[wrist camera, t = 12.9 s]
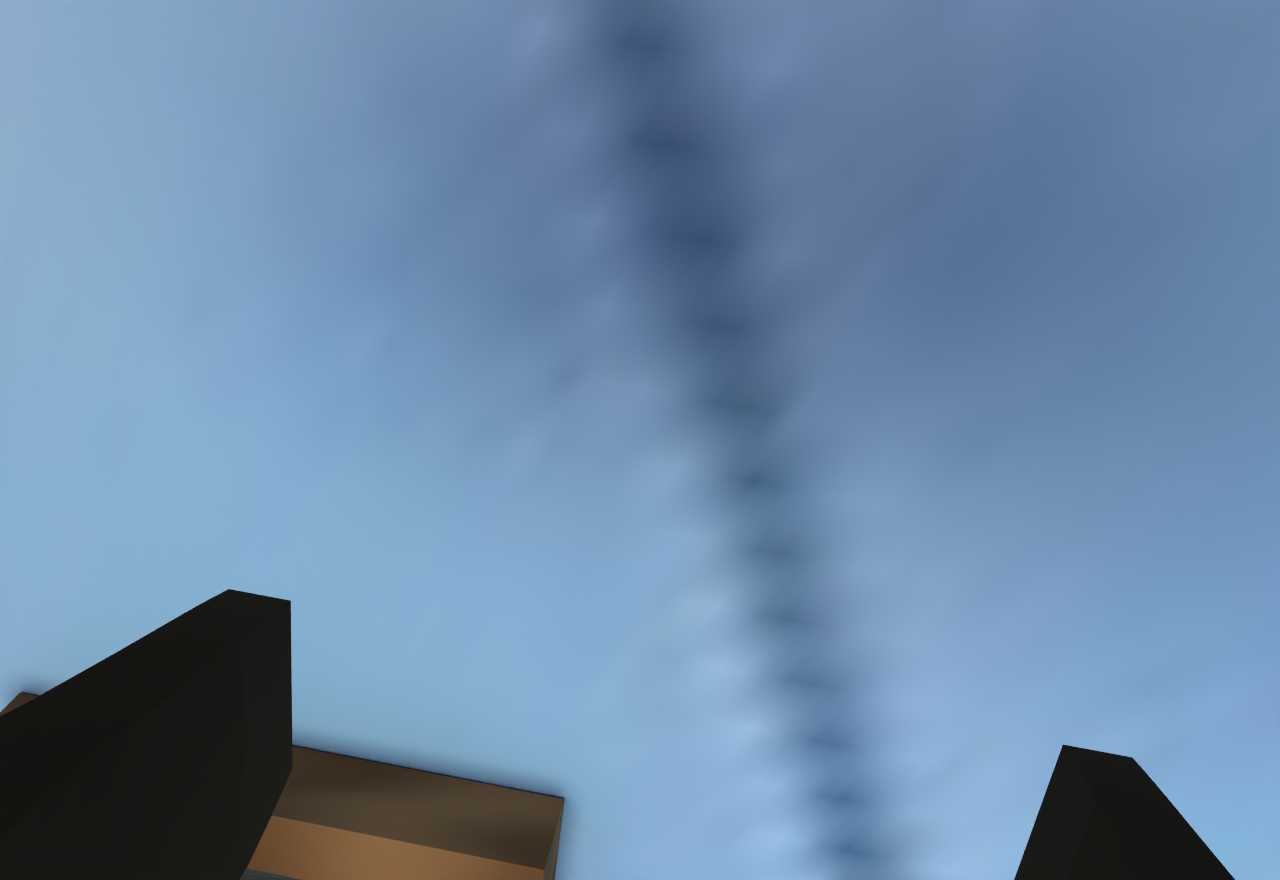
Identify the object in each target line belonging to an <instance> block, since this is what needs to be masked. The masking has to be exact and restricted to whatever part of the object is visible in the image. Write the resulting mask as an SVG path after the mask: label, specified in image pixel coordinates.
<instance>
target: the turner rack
mask: <svg viewBox="0 0 1280 880" xmlns="http://www.w3.org/2000/svg"><path fill="white" fill-rule="evenodd" d="M36 697H38V696H35V695H29V694H24V693H19V694H18V695H17V696H16V697H15V698H14V699H13V700H12V701H11V702H10V703H9V704H8V705H7V706H6V707H5V708H4V709H3V710H2V711H1V712H0V716H2V715H4V714H6V713H7V712H9V711H11V710H13V709H15V708H17V707H19V706H21V705H23V704H25V703H27V702H29V701H31V700H33V699H35V698H36ZM563 805H564V799H561V798H556V797H551V796H546V795H541V794H536V793H531V792H525V791H520V790H515V789H510V788H505V787H500V786H495V785H490V784H485V783H479V782H474V781H469V780H464V779H459V778H454V777H449V776H444V775H438V774H433V773H428V772H423V771H418V770H413V769H408V768H403V767H398V766H392V765H387V764H382V763H377V762H372V761H367V760H362V759H357V758H352V757H346V756H341V755H336V754H331V753H326V752H321V751H316V750H311V749H306V748H300V747H295V746H292V771H291V773H290V775H289V778H288V780H287V782H286V784H285V787H284V789H283V791H282V793H281V796H280V798H279V800H278V802H277V805H276V807H275V809H274V811H273V814H272V816H271V818H270V820H269V823H268V825H267V827H266V829H265V831H264V833H263V835H262V837H261V839H260V842H259V844H258V846H257V848H256V850H255V852H254V854H253V856H252V858H251V861H250V863H249V865H248V866H247V869H252V870H257V871H262V872H267V873H272V874H277V875H281V876H286V877H291V878H296V879H301V880H554V877H555V869H556V861H557V853H558V845H559V837H560V829H561V821H562V813H563Z"/></svg>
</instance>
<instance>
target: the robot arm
mask: <svg viewBox="0 0 1280 880" xmlns="http://www.w3.org/2000/svg"><path fill="white" fill-rule="evenodd" d="M291 771H292V686H291V601H289V600H284V599H279V598H273V597H268V596H263V595H257V594H252V593H246V592H241V591H236V590H230V589H228V590H226V591H225V592H223V593H221V594H219V595H217V596H215V597H213V598H211V599H209V600H207V601H206V602H204V603H202V604H200V605H198V606H196V607H195V608H193V609H191V610H189V611H188V612H186V613H184V614H182V615H181V616H179V617H177V618H175V619H174V620H172V621H170V622H168V623H167V624H165V625H163V626H162V627H160V628H158V629H156V630H155V631H153V632H151V633H149V634H148V635H146V636H144V637H143V638H141V639H139V640H137V641H136V642H134V643H132V644H130V645H129V646H127V647H125V648H124V649H122V650H120V651H118V652H117V653H115V654H113V655H111V656H109V657H108V658H106V659H104V660H102V661H101V662H99V663H97V664H95V665H93V666H92V667H90V668H88V669H86V670H85V671H83V672H81V673H79V674H77V675H76V676H74V677H72V678H70V679H69V680H67V681H65V682H63V683H61V684H60V685H58V686H56V687H54V688H53V689H51V690H49V691H47V692H45V693H44V694H42V695H40V696H38V697H36V698H35V699H33V700H31V701H29V702H27V703H25V704H23V705H21V706H19V707H17V708H15V709H13V710H11V711H9V712H7V713H6V714H4V715H2V716H0V880H240V878H241V876H242V875H243V873H244V871H245V870H246V868H247V866H248V865H249V863H250V861H251V858H252V856H253V854H254V852H255V850H256V848H257V846H258V844H259V842H260V839H261V837H262V835H263V833H264V831H265V829H266V827H267V825H268V823H269V820H270V818H271V816H272V814H273V811H274V809H275V807H276V805H277V802H278V800H279V798H280V796H281V793H282V791H283V789H284V787H285V784H286V782H287V780H288V778H289V775H290V773H291ZM1014 880H1235V879H1234V878H1233V877H1232V875H1231V874H1230V873H1229V872H1228V871H1227V869H1226V868H1225V867H1224V866H1223V865H1222V863H1221V862H1220V861H1219V860H1218V859H1217V857H1216V856H1215V855H1214V854H1213V853H1212V851H1211V850H1210V849H1209V848H1208V847H1207V845H1206V844H1205V843H1204V842H1203V841H1202V839H1201V838H1200V837H1199V836H1198V835H1197V833H1196V832H1195V831H1194V830H1193V829H1192V827H1191V826H1190V825H1189V824H1188V822H1187V821H1186V820H1185V819H1184V818H1183V816H1182V815H1181V814H1180V813H1179V812H1178V810H1177V809H1176V808H1175V807H1174V806H1173V804H1172V803H1171V802H1170V801H1169V800H1168V798H1167V797H1166V796H1165V795H1164V794H1163V792H1162V791H1161V790H1160V789H1159V788H1158V786H1157V785H1156V784H1155V783H1154V782H1153V781H1152V779H1151V778H1150V777H1149V776H1148V775H1147V774H1146V772H1145V771H1144V770H1143V769H1142V768H1141V767H1140V766H1139V765H1138V763H1137V762H1136V761H1135V760H1134V759H1133V758H1132V757H1127V756H1121V755H1116V754H1110V753H1105V752H1100V751H1094V750H1089V749H1084V748H1078V747H1073V746H1068V745H1063V746H1062V749H1061V752H1060V754H1059V757H1058V760H1057V763H1056V766H1055V768H1054V771H1053V774H1052V777H1051V779H1050V782H1049V785H1048V788H1047V790H1046V793H1045V796H1044V799H1043V802H1042V804H1041V807H1040V810H1039V813H1038V815H1037V818H1036V821H1035V824H1034V827H1033V829H1032V832H1031V835H1030V838H1029V840H1028V843H1027V846H1026V849H1025V851H1024V854H1023V857H1022V860H1021V863H1020V865H1019V868H1018V871H1017V874H1016V876H1015V879H1014Z"/></svg>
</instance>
